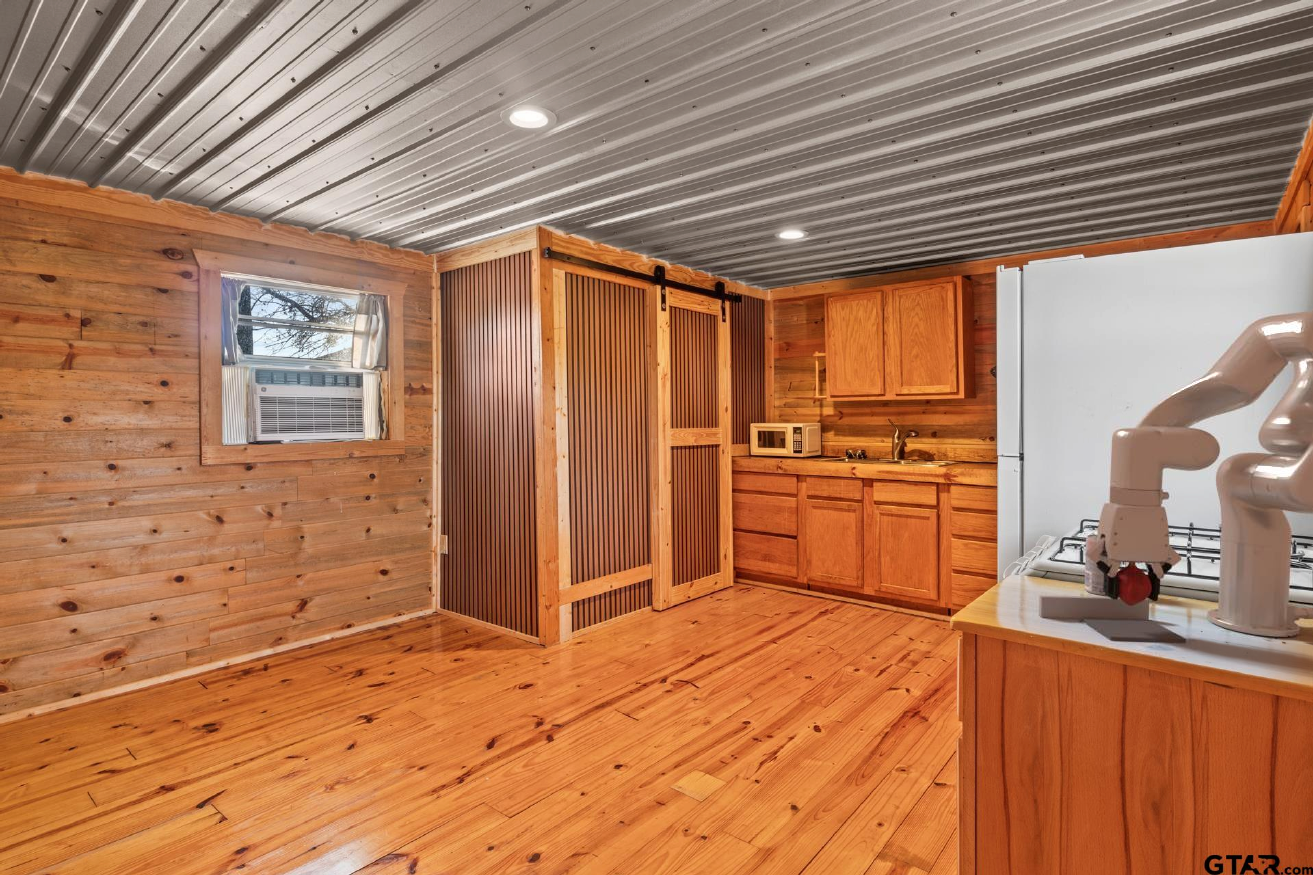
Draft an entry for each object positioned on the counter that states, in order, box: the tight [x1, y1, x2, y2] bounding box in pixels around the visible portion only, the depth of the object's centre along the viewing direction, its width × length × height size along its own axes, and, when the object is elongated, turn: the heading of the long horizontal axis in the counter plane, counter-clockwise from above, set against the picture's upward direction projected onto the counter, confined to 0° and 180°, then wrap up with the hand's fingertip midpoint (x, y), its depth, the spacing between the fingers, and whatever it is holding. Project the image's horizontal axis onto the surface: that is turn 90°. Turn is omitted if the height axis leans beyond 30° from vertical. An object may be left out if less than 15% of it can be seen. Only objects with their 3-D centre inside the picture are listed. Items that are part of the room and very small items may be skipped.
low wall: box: [1038, 594, 1150, 620], centre depth 127 cm, size 19×1×4 cm, turn 83°
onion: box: [1116, 562, 1152, 606], centre depth 119 cm, size 6×6×8 cm
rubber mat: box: [1081, 618, 1187, 644], centre depth 120 cm, size 12×10×1 cm
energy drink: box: [1084, 534, 1106, 596], centre depth 144 cm, size 5×5×12 cm
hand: (1130, 597), depth 120 cm, fingers closed on onion, 5 cm apart
